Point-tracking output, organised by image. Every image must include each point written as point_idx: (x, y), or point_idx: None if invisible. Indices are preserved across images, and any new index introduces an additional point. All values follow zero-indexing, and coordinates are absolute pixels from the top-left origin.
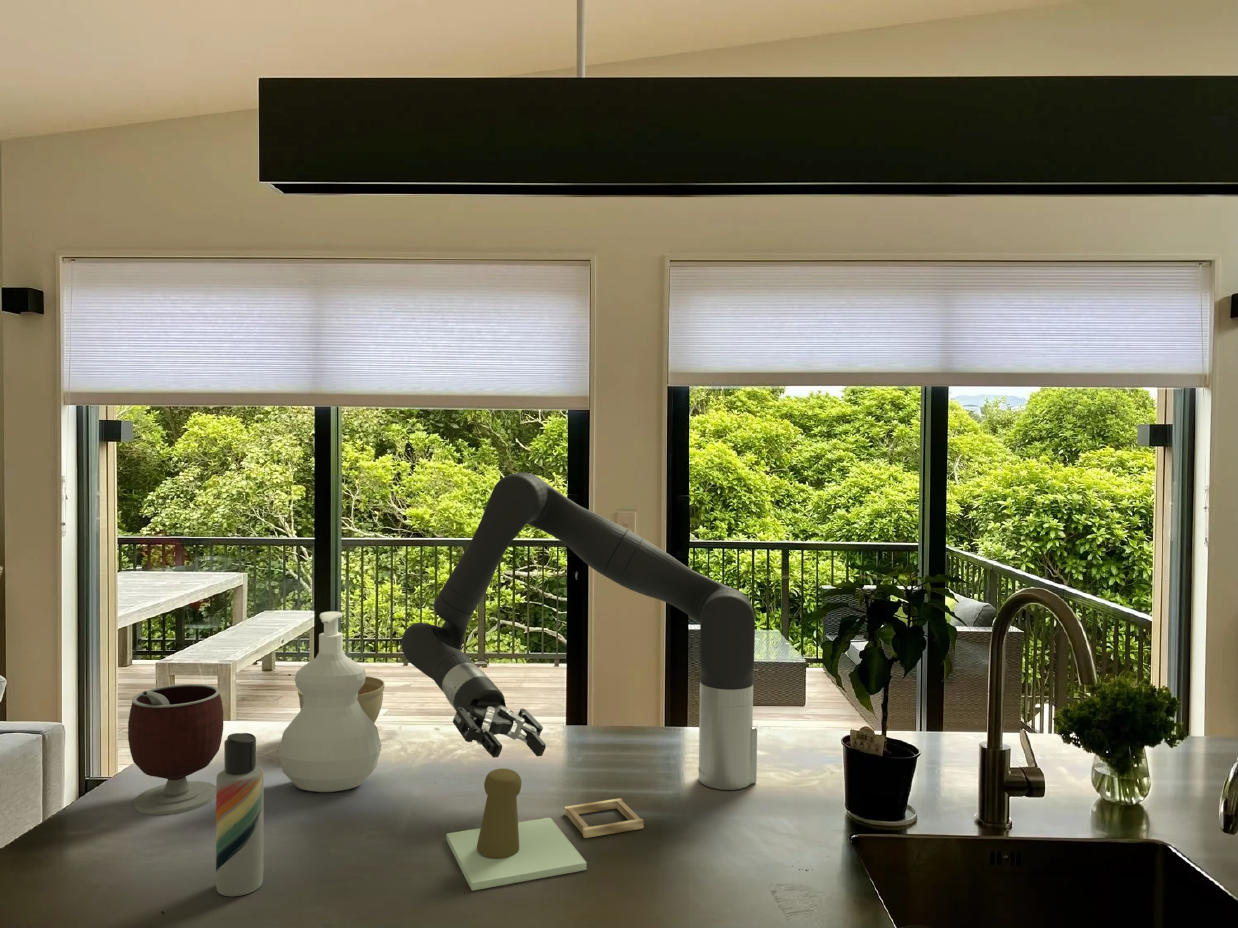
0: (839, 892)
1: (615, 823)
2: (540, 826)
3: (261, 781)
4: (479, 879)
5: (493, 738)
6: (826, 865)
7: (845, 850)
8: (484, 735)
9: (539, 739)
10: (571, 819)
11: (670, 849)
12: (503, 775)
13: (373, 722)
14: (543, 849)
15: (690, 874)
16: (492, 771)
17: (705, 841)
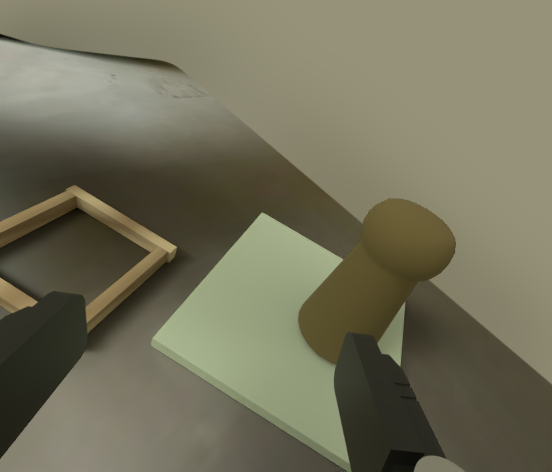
0: (145, 68)
1: (115, 217)
2: (210, 326)
3: None
4: None
5: (390, 382)
6: (92, 63)
7: (39, 46)
8: (440, 455)
9: (27, 323)
10: (108, 312)
11: (138, 159)
12: (427, 211)
13: None
14: (277, 271)
15: (189, 141)
16: (446, 238)
17: (85, 132)
